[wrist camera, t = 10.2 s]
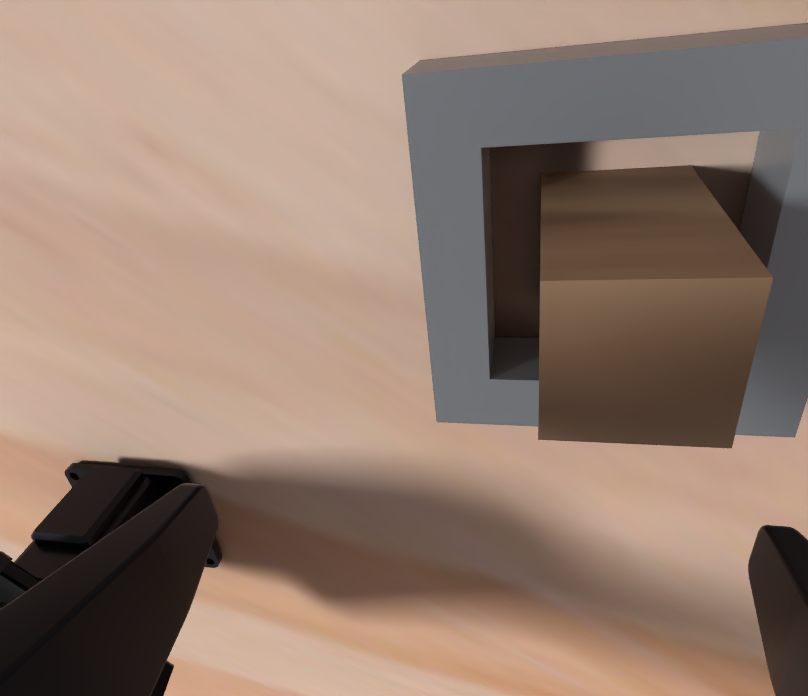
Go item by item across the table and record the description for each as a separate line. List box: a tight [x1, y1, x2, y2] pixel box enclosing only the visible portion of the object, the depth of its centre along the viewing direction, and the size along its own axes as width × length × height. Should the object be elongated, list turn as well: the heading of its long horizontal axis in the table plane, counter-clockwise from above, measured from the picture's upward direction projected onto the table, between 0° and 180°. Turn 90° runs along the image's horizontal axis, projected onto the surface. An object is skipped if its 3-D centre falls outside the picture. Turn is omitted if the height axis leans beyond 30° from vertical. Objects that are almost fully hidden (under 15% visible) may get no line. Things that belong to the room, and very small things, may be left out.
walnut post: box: [538, 165, 773, 448], centre depth 15 cm, size 4×4×7 cm
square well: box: [402, 23, 808, 437], centre depth 17 cm, size 11×11×2 cm
